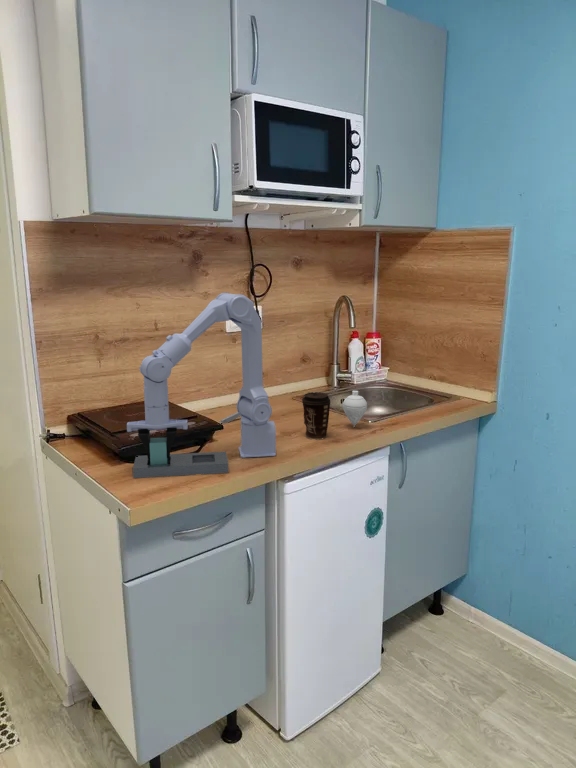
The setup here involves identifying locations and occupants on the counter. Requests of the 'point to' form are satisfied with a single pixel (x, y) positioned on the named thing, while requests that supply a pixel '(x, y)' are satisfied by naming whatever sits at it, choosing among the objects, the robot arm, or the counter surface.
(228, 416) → the caliper
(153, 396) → the robot arm
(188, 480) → the counter surface
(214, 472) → the peg socket board
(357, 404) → the spinning top
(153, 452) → the square peg
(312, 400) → the coffee cup
